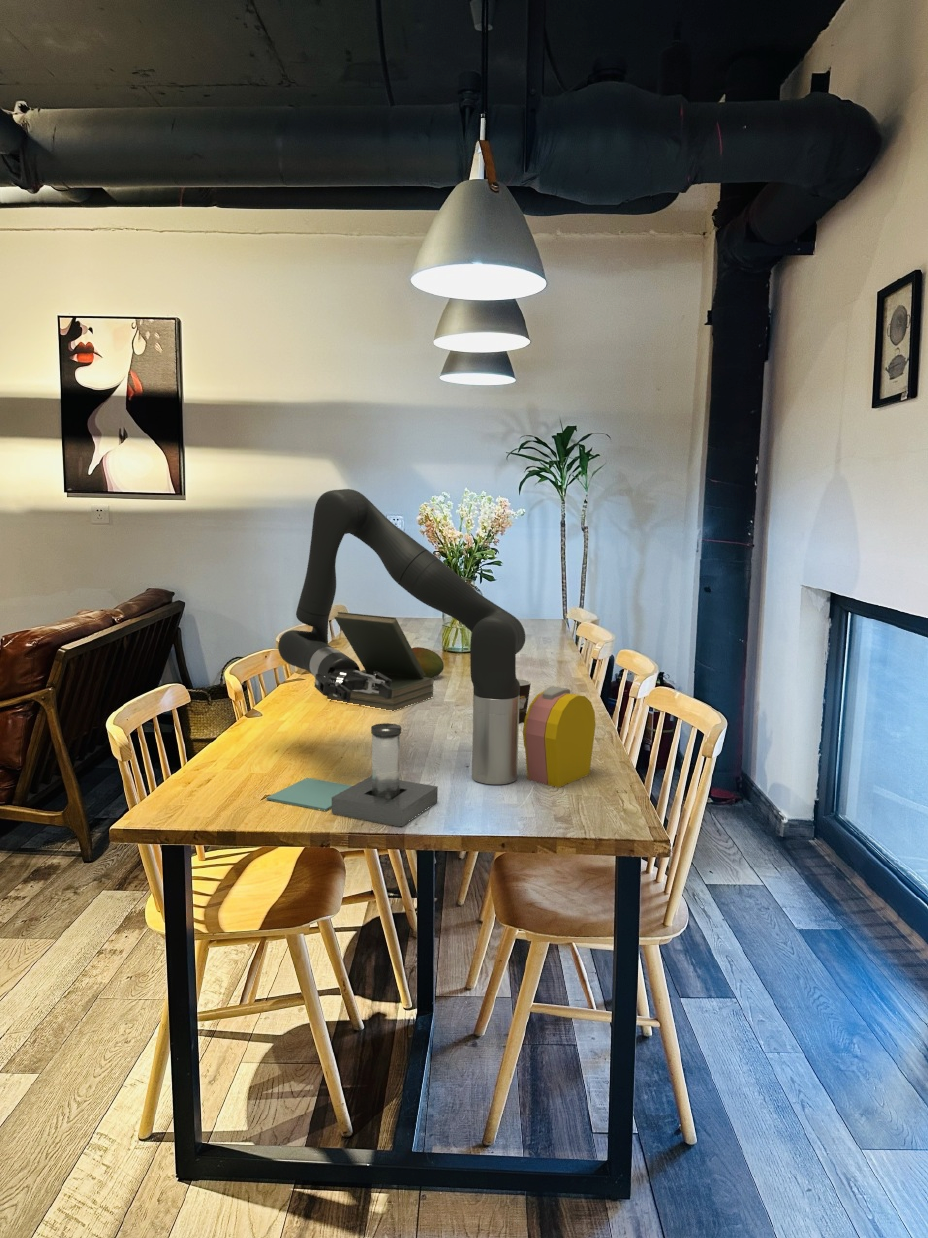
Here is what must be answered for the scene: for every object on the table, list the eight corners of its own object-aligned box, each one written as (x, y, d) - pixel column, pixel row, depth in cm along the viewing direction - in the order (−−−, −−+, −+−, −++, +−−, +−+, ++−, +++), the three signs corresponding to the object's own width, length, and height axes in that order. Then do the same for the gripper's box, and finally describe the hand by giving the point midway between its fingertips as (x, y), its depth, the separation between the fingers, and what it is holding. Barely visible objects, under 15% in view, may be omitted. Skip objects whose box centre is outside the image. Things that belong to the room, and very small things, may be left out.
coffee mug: (527, 716, 225) (528, 678, 224) (531, 724, 217) (532, 685, 215) (483, 716, 225) (484, 678, 223) (485, 724, 216) (486, 685, 215)
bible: (433, 699, 244) (434, 612, 240) (393, 713, 227) (394, 619, 224) (368, 689, 255) (368, 605, 252) (325, 701, 239) (325, 612, 235)
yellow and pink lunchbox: (560, 764, 184) (563, 680, 182) (593, 772, 179) (597, 685, 176) (519, 780, 173) (522, 691, 170) (553, 789, 167) (557, 697, 165)
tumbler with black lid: (380, 800, 159) (380, 722, 157) (405, 805, 157) (406, 725, 155) (365, 810, 154) (365, 728, 152) (391, 815, 152) (392, 732, 150)
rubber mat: (307, 780, 170) (307, 777, 170) (363, 790, 165) (363, 787, 165) (266, 800, 159) (266, 797, 159) (325, 811, 153) (325, 808, 153)
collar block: (371, 790, 165) (371, 775, 165) (437, 802, 159) (437, 786, 159) (331, 813, 152) (331, 797, 152) (401, 827, 147) (401, 810, 146)
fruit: (398, 676, 274) (398, 645, 273) (434, 673, 279) (434, 643, 278) (411, 683, 264) (411, 651, 262) (448, 680, 269) (449, 649, 268)
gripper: (303, 652, 170) (337, 678, 157) (367, 651, 178) (405, 675, 165) (299, 688, 172) (332, 717, 158) (363, 685, 179) (400, 712, 166)
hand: (369, 695), depth 162 cm, fingers open, 8 cm apart
